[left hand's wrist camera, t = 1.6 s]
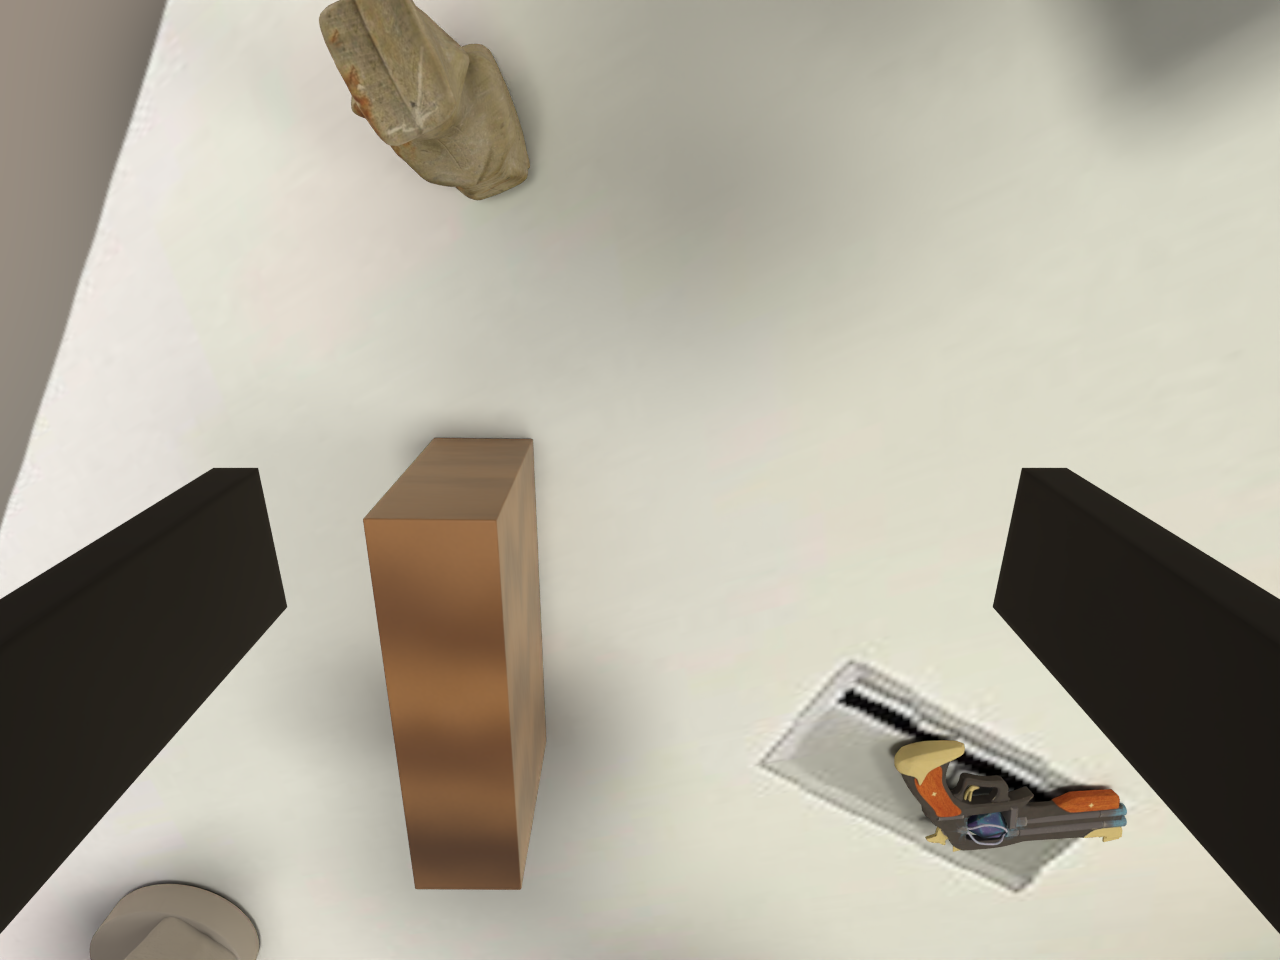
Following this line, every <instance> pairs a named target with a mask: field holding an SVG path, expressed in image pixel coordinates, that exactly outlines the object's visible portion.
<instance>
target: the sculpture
mask: <svg viewBox="0 0 1280 960" xmlns="http://www.w3.org/2000/svg"><path fill="white" fill-rule="evenodd" d="M319 24H320V28H321V32H322V35H323V37H324V40H325V43H326V45H327V47H328V50H329V52H330V54H331V56H332V58H333V60H334V62H335V64H336V67H337V69H338V70H339V72H340V74H341V76H342V78H343V79H344V81H345V83H346V85H347V87H348V89H349V91H350V93H351V95H352V100H351V108H352V111H353V112H354V113H355V114H356V115H358V116H360V117H363V118H366V120H367V121H368V122H369V124H370V125H371V127H372V128H373V129H374V131H375V132H376V133H377V135H378V136H379V137H380V138H381V139H382V140H383V141H384V142H385V143H386V144H388V145H390V146H391V147H392V149H393V150H394V151H395V153H396V154H397V155H398V156H399V157H401V158H402V159H403V160H404V161H405V162H407V164H408V165H409V166H410V167H411V168H412V169H413V170H415V171H416V172H417V173H418V174H419V175H420V176H421V177H422V178H423V179H425V180H426V181H428V182H430V183H434V184H438V185H442V186H450V187H456V188H457V189H458V190H459V191H460V192H462V193H463V194H464V195H465V196H467V197H469V198H471V199H474V200H482V199H485V198H488V197H491V196H494V195H497V194H499V193H502V192H504V191H506V190H508V189H511V188H513V187H515V186H517V185H519V184H521V183H522V182H523V181H524V180H525V179H526V178H527V175H528V169H529V167H530V162H529V158H528V155H527V151H526V145H525V141H524V136H523V132H522V129H521V126H520V122H519V119H518V116H517V113H516V110H515V107H514V105H513V102H512V99H511V96H510V94H509V91H508V89H507V86H506V84H505V82H504V79H503V77H502V75H501V72H500V70H499V68H498V66H497V64H496V62H495V60H494V58H493V56H492V54H491V52H490V50H489V49H487V48H486V47H485V46H483V45H480V44H469V45H466V46H463V47H461V46H460V45H459V44H458V43H457V42H456V41H455V40H453V39H452V38H451V37H450V36H449V35H448V34H447V33H446V32H445V31H443V30H442V29H441V28H440V27H439V26H438V25H437V24H436V23H435V22H434V21H433V20H432V19H431V18H430V17H429V16H428V15H427V14H426V13H424V12H423V11H422V10H420V9H419V8H418V7H417V6H415V4H414V2H413V0H339V1H337V2H335V3H333V4H331V5H329V6H328V7H326V8H325V9H324V10H323V11H322V13H321V14H320V17H319Z"/></svg>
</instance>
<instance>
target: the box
mask: <svg viewBox="0 0 1280 960" xmlns="http://www.w3.org/2000/svg"><path fill="white" fill-rule="evenodd" d="M363 522H364V530H365V537H366V544H367V551H368V558H369V565H370V572H371V579H372V586H373V593H374V600H375V607H376V614H377V621H378V628H379V636H380V643H381V650H382V657H383V664H384V671H385V678H386V685H387V692H388V699H389V706H390V713H391V720H392V727H393V735H394V742H395V749H396V756H397V763H398V770H399V777H400V784H401V791H402V798H403V805H404V812H405V819H406V826H407V833H408V841H409V848H410V855H411V862H412V869H413V876H414V883H415V889H482V890H520V889H521V887H522V881H523V875H524V870H525V864H526V858H527V852H528V846H529V840H530V834H531V828H532V822H533V816H534V810H535V805H536V799H537V793H538V787H539V781H540V775H541V769H542V763H543V757H544V751H545V746H546V725H545V702H544V680H543V657H542V635H541V612H540V589H539V567H538V544H537V522H536V499H535V476H534V454H533V440H532V439H472V438H434V439H433V440H432V441H431V442H430V443H429V445H428V446H427V447H426V448H425V449H424V450H423V451H422V453H421V454H420V455H419V456H418V457H417V458H416V459H415V461H414V462H413V463H412V464H411V465H410V466H409V467H408V469H407V470H406V471H405V472H404V473H403V474H402V475H401V476H400V478H399V479H398V480H397V481H396V482H395V483H394V484H393V486H392V487H391V488H390V489H389V490H388V491H387V492H386V494H385V495H384V496H383V497H382V498H381V499H380V500H379V502H378V503H377V504H376V505H375V506H374V507H373V508H372V510H371V511H370V512H369V513H368V514H367V515H366V516H365V517H364V519H363Z"/></svg>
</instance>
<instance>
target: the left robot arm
mask: <svg viewBox="0 0 1280 960" xmlns="http://www.w3.org/2000/svg"><path fill="white" fill-rule="evenodd" d="M286 608H287V604H286V599H285V594H284V589H283V585H282V580H281V575H280V570H279V566H278V561H277V556H276V551H275V547H274V542H273V537H272V532H271V528H270V523H269V518H268V513H267V508H266V504H265V499H264V494H263V489H262V485H261V480H260V475H259V470H258V468H213V469H211V470H209V471H208V472H206V473H204V474H203V475H201V476H200V477H198V478H196V479H195V480H193V481H191V482H190V483H188V484H187V485H185V486H183V487H182V488H180V489H178V490H177V491H175V492H174V493H172V494H170V495H169V496H167V497H165V498H164V499H162V500H161V501H159V502H157V503H156V504H154V505H153V506H151V507H149V508H148V509H146V510H144V511H143V512H141V513H140V514H138V515H136V516H135V517H133V518H131V519H130V520H128V521H127V522H125V523H123V524H122V525H120V526H118V527H117V528H115V529H114V530H112V531H110V532H109V533H107V534H105V535H104V536H102V537H101V538H99V539H97V540H96V541H94V542H92V543H91V544H89V545H88V546H86V547H84V548H83V549H81V550H79V551H78V552H76V553H75V554H73V555H71V556H70V557H68V558H67V559H65V560H63V561H62V562H60V563H58V564H57V565H55V566H54V567H52V568H50V569H49V570H47V571H45V572H44V573H42V574H41V575H39V576H37V577H36V578H34V579H32V580H31V581H29V582H28V583H26V584H24V585H23V586H21V587H19V588H18V589H16V590H15V591H13V592H11V593H10V594H8V595H6V596H5V597H3V598H2V599H0V934H1V932H2V931H3V930H4V929H5V928H6V927H7V926H8V924H9V923H10V922H11V921H12V920H13V919H14V918H15V916H16V915H17V914H18V913H19V912H20V911H21V910H22V908H23V907H24V906H25V905H26V904H27V903H28V902H29V901H30V899H31V898H32V897H33V896H34V895H35V894H36V893H37V891H38V890H39V889H40V888H41V887H42V886H43V885H44V883H45V882H46V881H47V880H48V879H49V878H50V877H51V875H52V874H53V873H54V872H55V871H56V870H57V869H58V867H59V866H60V865H61V864H62V863H63V862H64V861H65V860H66V858H67V857H68V856H69V855H70V854H71V853H72V852H73V850H74V849H75V848H76V847H77V846H78V845H79V844H80V842H81V841H82V840H83V839H84V838H85V837H86V836H87V834H88V833H89V832H90V831H91V830H92V829H93V828H94V826H95V825H96V824H97V823H98V822H99V821H100V820H101V819H102V817H103V816H104V815H105V814H106V813H107V812H108V811H109V809H110V808H111V807H112V806H113V805H114V804H115V803H116V801H117V800H118V799H119V798H120V797H121V796H122V795H123V793H124V792H125V791H126V790H127V789H128V788H129V787H130V785H131V784H132V783H133V782H134V781H135V780H136V779H137V777H138V776H139V775H140V774H141V773H142V772H143V771H144V770H145V768H146V767H147V766H148V765H149V764H150V763H151V762H152V760H153V759H154V758H155V757H156V756H157V755H158V754H159V752H160V751H161V750H162V749H163V748H164V747H165V746H166V744H167V743H168V742H169V741H170V740H171V739H172V738H173V736H174V735H175V734H176V733H177V732H178V731H179V730H180V729H181V727H182V726H183V725H184V724H185V723H186V722H187V721H188V719H189V718H190V717H191V716H192V715H193V714H194V713H195V711H196V710H197V709H198V708H199V707H200V706H201V705H202V703H203V702H204V701H205V700H206V699H207V698H208V697H209V695H210V694H211V693H212V692H213V691H214V690H215V689H216V688H217V686H218V685H219V684H220V683H221V682H222V681H223V680H224V678H225V677H226V676H227V675H228V674H229V673H230V672H231V670H232V669H233V668H234V667H235V666H236V665H237V664H238V662H239V661H240V660H241V659H242V658H243V657H244V656H245V654H246V653H247V652H248V651H249V650H250V649H251V648H252V647H253V645H254V644H255V643H256V642H257V641H258V640H259V639H260V637H261V636H262V635H263V634H264V633H265V632H266V631H267V629H268V628H269V627H270V626H271V625H272V624H273V623H274V621H275V620H276V619H277V618H278V617H279V616H280V615H281V613H282V612H283V611H284V610H285V609H286ZM993 608H994V609H995V610H996V611H997V612H998V613H999V615H1000V616H1001V617H1002V618H1003V619H1004V620H1005V621H1006V623H1007V624H1008V625H1009V626H1010V627H1011V628H1012V629H1013V631H1014V632H1015V633H1016V634H1017V635H1018V636H1019V637H1020V639H1021V640H1022V641H1023V642H1024V643H1025V644H1026V645H1027V647H1028V648H1029V649H1030V650H1031V651H1032V652H1033V653H1034V654H1035V656H1036V657H1037V658H1038V659H1039V660H1040V661H1041V662H1042V664H1043V665H1044V666H1045V667H1046V668H1047V669H1048V670H1049V672H1050V673H1051V674H1052V675H1053V676H1054V677H1055V678H1056V680H1057V681H1058V682H1059V683H1060V684H1061V685H1062V686H1063V688H1064V689H1065V690H1066V691H1067V692H1068V693H1069V694H1070V695H1071V697H1072V698H1073V699H1074V700H1075V701H1076V702H1077V703H1078V705H1079V706H1080V707H1081V708H1082V709H1083V710H1084V711H1085V713H1086V714H1087V715H1088V716H1089V717H1090V718H1091V719H1092V721H1093V722H1094V723H1095V724H1096V725H1097V726H1098V727H1099V729H1100V730H1101V731H1102V732H1103V733H1104V734H1105V735H1106V736H1107V738H1108V739H1109V740H1110V741H1111V742H1112V743H1113V744H1114V746H1115V747H1116V748H1117V749H1118V750H1119V751H1120V752H1121V754H1122V755H1123V756H1124V757H1125V758H1126V759H1127V760H1128V762H1129V763H1130V764H1131V765H1132V766H1133V767H1134V768H1135V770H1136V771H1137V772H1138V773H1139V774H1140V775H1141V776H1142V778H1143V779H1144V780H1145V781H1146V782H1147V783H1148V784H1149V785H1150V787H1151V788H1152V789H1153V790H1154V791H1155V792H1156V793H1157V795H1158V796H1159V797H1160V798H1161V799H1162V800H1163V801H1164V803H1165V804H1166V805H1167V806H1168V807H1169V808H1170V809H1171V811H1172V812H1173V813H1174V814H1175V815H1176V816H1177V817H1178V819H1179V820H1180V821H1181V822H1182V823H1183V824H1184V825H1185V826H1186V828H1187V829H1188V830H1189V831H1190V832H1191V833H1192V834H1193V836H1194V837H1195V838H1196V839H1197V840H1198V841H1199V842H1200V844H1201V845H1202V846H1203V847H1204V848H1205V849H1206V850H1207V852H1208V853H1209V854H1210V855H1211V856H1212V857H1213V858H1214V860H1215V861H1216V862H1217V863H1218V864H1219V865H1220V866H1221V867H1222V869H1223V870H1224V871H1225V872H1226V873H1227V874H1228V875H1229V877H1230V878H1231V879H1232V880H1233V881H1234V882H1235V883H1236V885H1237V886H1238V887H1239V888H1240V889H1241V890H1242V891H1243V893H1244V894H1245V895H1246V896H1247V897H1248V898H1249V899H1250V901H1251V902H1252V903H1253V904H1254V905H1255V906H1256V907H1257V908H1258V910H1259V911H1260V912H1261V913H1262V914H1263V915H1264V916H1265V918H1266V919H1267V920H1268V921H1269V922H1270V923H1271V924H1272V926H1273V927H1274V928H1275V929H1276V930H1277V931H1278V932H1279V934H1280V599H1278V598H1277V597H1275V596H1274V595H1272V594H1270V593H1269V592H1267V591H1265V590H1264V589H1262V588H1261V587H1259V586H1257V585H1256V584H1254V583H1252V582H1251V581H1249V580H1248V579H1246V578H1244V577H1243V576H1241V575H1239V574H1238V573H1236V572H1235V571H1233V570H1231V569H1230V568H1228V567H1226V566H1225V565H1223V564H1222V563H1220V562H1218V561H1217V560H1215V559H1213V558H1212V557H1210V556H1209V555H1207V554H1205V553H1204V552H1202V551H1201V550H1199V549H1197V548H1196V547H1194V546H1192V545H1191V544H1189V543H1188V542H1186V541H1184V540H1183V539H1181V538H1179V537H1178V536H1176V535H1175V534H1173V533H1171V532H1170V531H1168V530H1166V529H1165V528H1163V527H1162V526H1160V525H1158V524H1157V523H1155V522H1153V521H1152V520H1150V519H1149V518H1147V517H1145V516H1144V515H1142V514H1140V513H1139V512H1137V511H1136V510H1134V509H1132V508H1131V507H1129V506H1127V505H1126V504H1124V503H1123V502H1121V501H1119V500H1118V499H1116V498H1114V497H1113V496H1111V495H1110V494H1108V493H1106V492H1105V491H1103V490H1102V489H1100V488H1098V487H1097V486H1095V485H1093V484H1092V483H1090V482H1089V481H1087V480H1085V479H1084V478H1082V477H1080V476H1079V475H1077V474H1076V473H1074V472H1072V471H1071V470H1069V469H1067V468H1022V470H1021V475H1020V480H1019V485H1018V489H1017V494H1016V499H1015V504H1014V508H1013V513H1012V518H1011V523H1010V528H1009V532H1008V537H1007V542H1006V547H1005V551H1004V556H1003V561H1002V566H1001V570H1000V575H999V580H998V585H997V589H996V594H995V599H994V604H993Z"/></svg>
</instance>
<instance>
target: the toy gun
mask: <svg viewBox="0 0 1280 960" xmlns="http://www.w3.org/2000/svg"><path fill="white" fill-rule="evenodd" d="M964 750H965V747H964V744H963V743H961V742H958V741H951V740H938V741H922V742H916V743H912V744H909V745H906V746H903V747H901V748H900V750H899V751H898V752H897V753H896V755H895V767H896V769H897V770H898V771H899V772H900V773H901V774H902V776H903V779H904V781H905V783H906V784H907V786H908V788H909V789H910V791H911V792H912V794H913V795H914V796H915V797H916V799H917V800H918V801H919V802H920V804H921V805H922V811H923V812H924V814H925V815H926V816H927V817H928V818H930V820H931V821H932V823H933V824H934V825H936V826H937V829H936V833H935V834H933V835H929V836H926V837H925V838H926V839H927V841H929V842H933V843H940V844H942V845H945V840H947V839H949V841H950V842H951V844H952V845H953V852H954V851H958V850H977V849H988V848H996V847H1002V846H1007V845H1011V844H1015V843H1018V842H1022V841H1031V840H1045V839H1060V838H1077V837H1083V838H1089V837H1103V842H1106V841H1111V840H1115V839H1119V837H1121V836H1122V828H1121V826H1125V825H1126V823H1127V821H1126V818H1125V816H1124V815H1126V814H1127V810H1126V807H1125V805H1124V804H1122V803H1119V802H1120V799H1119V796H1118V795H1117V794H1116V793H1115V792H1114V791H1113V790H1112V789H1106V790H1087V791H1072V792H1068V793H1065V794H1063V795H1061V796H1058V797H1056V798H1053V799H1052V800H1051V801H1044V802H1029V801H1030V800H1031V799H1032V798H1033V796H1034V795H1033V793H1032V792H1031V791H1030V790H1029V789H1028V788H1027V787H1022V788H1019V789H1017V790H1014V791H1010V792H1008V791H1009V788H1008V785H1007V784H1006V782H1005V781H1004V780H1003V779H1002V778H1001V777H1000V776H998V775H994V776H978V775H973V774H968V773H962V774H961V775H960V778H959V781H958V783H957V786H956V787H955V788H954V789H952V790H949V788H948V785H947V783H946V771H947V768H948V765H949V763H950V761H952V760H954V759H956V758H957V757H959V756H961V755H962V754H963V753H964ZM968 785H970V786H969V787H968V788H967V786H968ZM978 786H981V787H993V789H992V791H991V792H990V793H989V794H988V795H976V796H972V792H973V790H976V789H979V787H978ZM966 788H967V790H966V791H965V789H966ZM964 791H965V794H964ZM968 793H969V794H968ZM963 794H964V796H963ZM967 794H968V796H967ZM971 815H972V816H971ZM967 816H971V817H970V818H969V819H968V820H967ZM968 830H969V831H971V832H973V833H975V834H976V835H971V834H970V833H969V832H968ZM966 833H968V834H969V835H968V834H966Z"/></svg>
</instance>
